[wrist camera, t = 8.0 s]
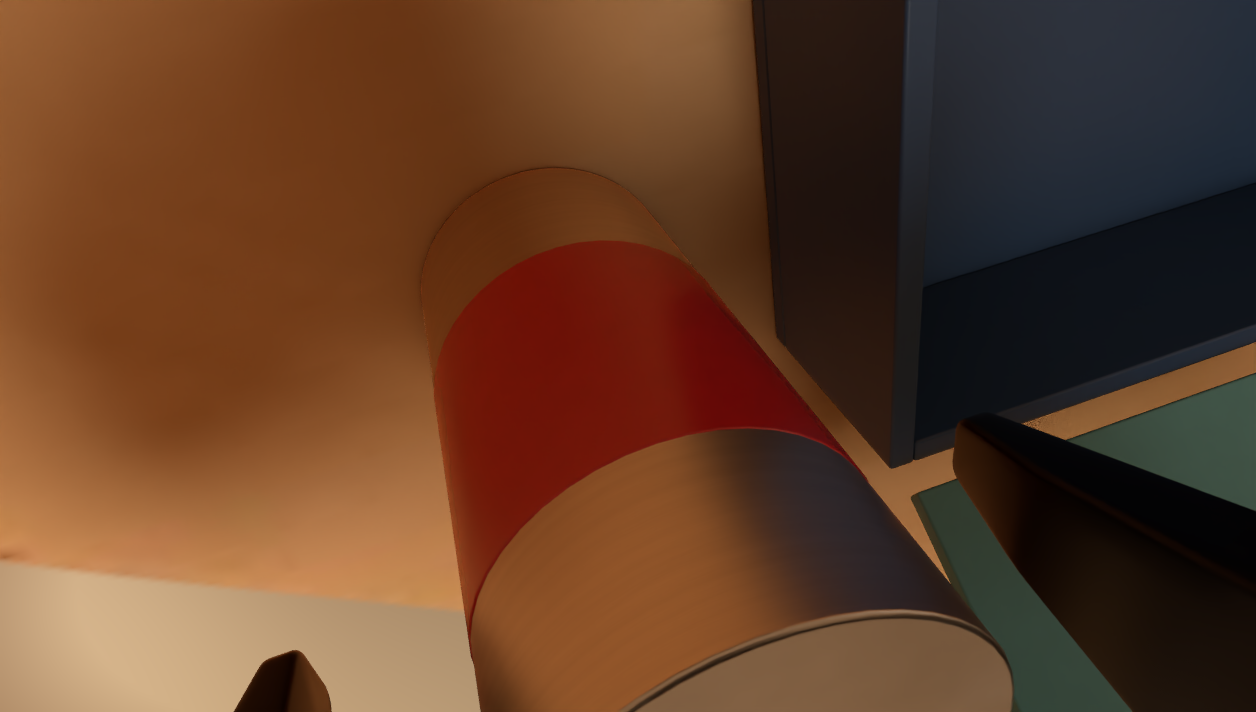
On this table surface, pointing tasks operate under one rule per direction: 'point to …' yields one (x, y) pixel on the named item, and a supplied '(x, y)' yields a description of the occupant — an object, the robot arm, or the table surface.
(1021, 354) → the dark blue open box
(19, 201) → the table surface
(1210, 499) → the robot arm
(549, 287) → the can
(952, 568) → the lid
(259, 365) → the table surface
